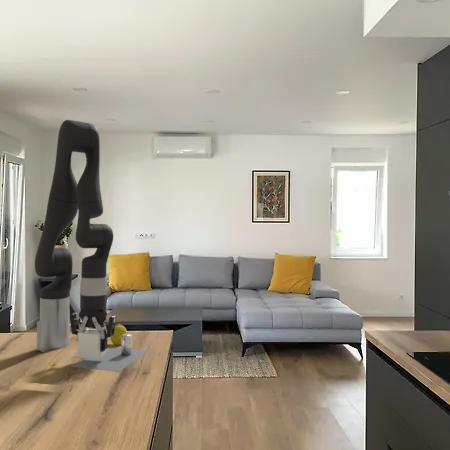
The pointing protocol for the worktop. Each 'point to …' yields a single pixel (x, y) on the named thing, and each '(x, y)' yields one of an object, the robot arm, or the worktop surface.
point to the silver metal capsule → (126, 344)
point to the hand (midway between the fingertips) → (92, 349)
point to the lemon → (118, 334)
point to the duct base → (110, 360)
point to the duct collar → (89, 344)
